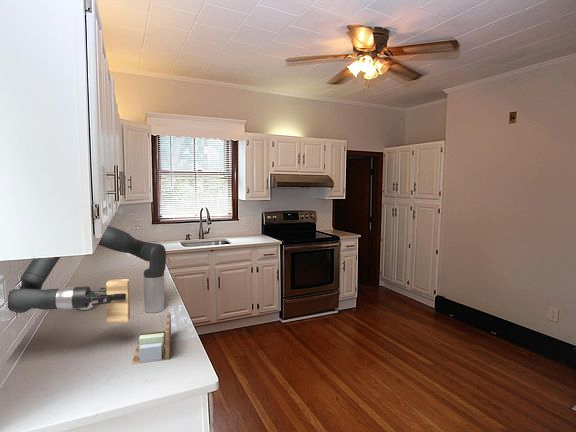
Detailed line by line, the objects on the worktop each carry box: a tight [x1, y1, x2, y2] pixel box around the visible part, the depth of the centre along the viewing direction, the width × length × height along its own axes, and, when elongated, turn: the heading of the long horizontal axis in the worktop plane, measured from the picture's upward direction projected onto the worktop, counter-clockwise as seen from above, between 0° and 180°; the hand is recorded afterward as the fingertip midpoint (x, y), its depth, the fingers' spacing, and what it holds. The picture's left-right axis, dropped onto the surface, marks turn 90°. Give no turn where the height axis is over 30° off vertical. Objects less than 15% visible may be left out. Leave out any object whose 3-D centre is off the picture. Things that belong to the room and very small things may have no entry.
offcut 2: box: [140, 343, 163, 363], centre depth 117 cm, size 2×7×5 cm, turn 107°
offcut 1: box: [138, 333, 164, 358], centre depth 120 cm, size 3×8×7 cm, turn 107°
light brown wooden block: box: [105, 278, 131, 324], centre depth 124 cm, size 4×7×15 cm, turn 107°
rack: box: [131, 311, 172, 365], centre depth 124 cm, size 19×12×11 cm, turn 17°
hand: (126, 294), depth 124 cm, fingers closed on light brown wooden block, 4 cm apart
